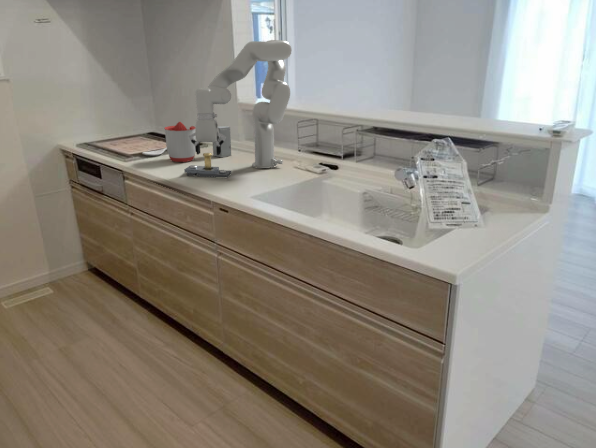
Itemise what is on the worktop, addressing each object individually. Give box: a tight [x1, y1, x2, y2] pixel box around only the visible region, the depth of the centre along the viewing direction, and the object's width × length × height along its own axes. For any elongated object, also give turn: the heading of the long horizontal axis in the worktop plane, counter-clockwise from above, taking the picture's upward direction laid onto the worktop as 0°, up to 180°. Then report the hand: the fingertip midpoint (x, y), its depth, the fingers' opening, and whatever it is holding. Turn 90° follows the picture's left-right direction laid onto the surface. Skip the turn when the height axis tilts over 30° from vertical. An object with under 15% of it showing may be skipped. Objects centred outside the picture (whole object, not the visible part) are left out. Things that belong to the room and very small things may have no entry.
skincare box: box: [212, 125, 232, 158], centre depth 265 cm, size 8×7×16 cm
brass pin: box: [202, 152, 213, 170], centre depth 227 cm, size 4×4×10 cm
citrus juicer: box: [164, 121, 196, 163], centre depth 253 cm, size 16×17×20 cm
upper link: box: [183, 164, 220, 177], centre depth 228 cm, size 14×8×4 cm, turn 81°
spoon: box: [142, 146, 167, 157], centre depth 273 cm, size 9×32×4 cm, turn 138°
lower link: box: [196, 169, 232, 178], centre depth 228 cm, size 14×8×2 cm, turn 81°
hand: (208, 154), depth 226 cm, fingers open, 9 cm apart
